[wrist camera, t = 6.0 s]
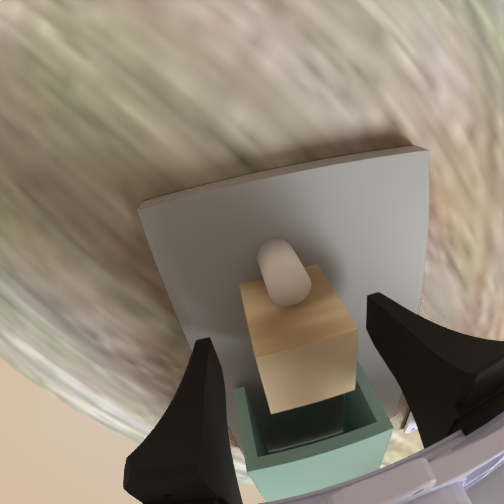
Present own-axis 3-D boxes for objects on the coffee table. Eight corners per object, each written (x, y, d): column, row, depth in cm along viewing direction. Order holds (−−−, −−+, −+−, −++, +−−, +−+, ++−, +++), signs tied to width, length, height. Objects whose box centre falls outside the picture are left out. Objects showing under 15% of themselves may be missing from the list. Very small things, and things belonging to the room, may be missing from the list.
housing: (355, 355, 17) (393, 427, 13) (349, 433, 22) (371, 487, 17) (233, 388, 17) (246, 471, 12) (262, 457, 22) (275, 515, 17)
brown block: (316, 264, 14) (358, 328, 10) (321, 323, 16) (355, 389, 12) (238, 283, 14) (255, 357, 10) (253, 341, 16) (271, 414, 12)
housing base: (414, 145, 14) (465, 163, 10) (390, 405, 24) (407, 438, 20) (141, 201, 13) (123, 237, 10) (244, 448, 23) (251, 486, 20)
